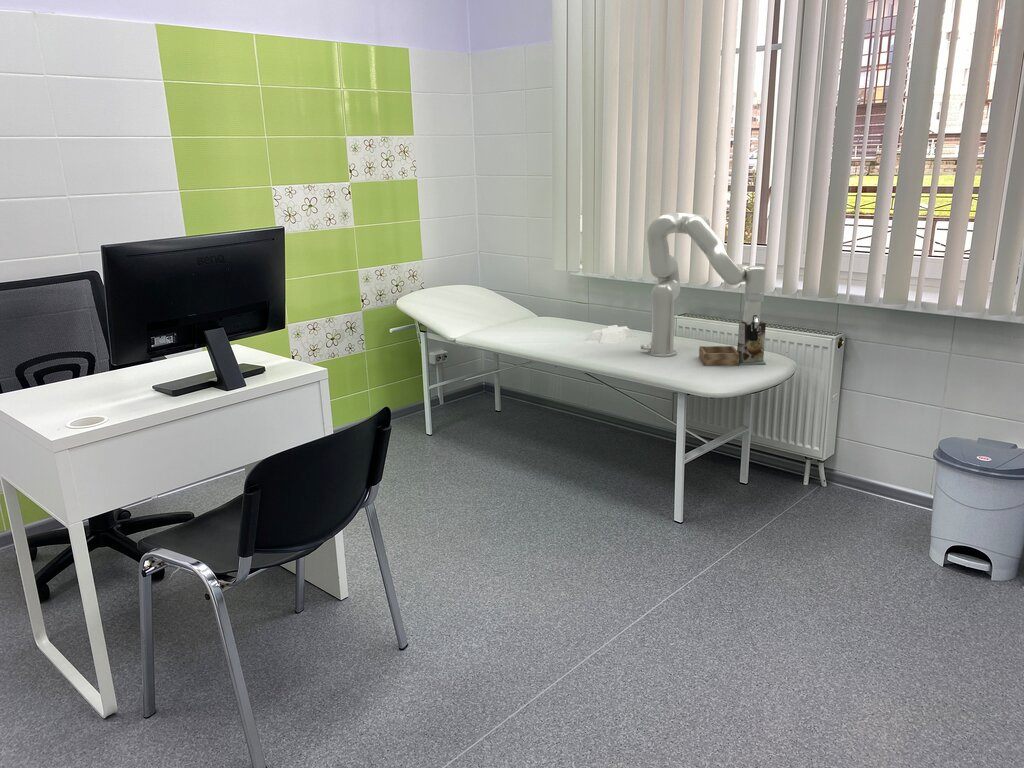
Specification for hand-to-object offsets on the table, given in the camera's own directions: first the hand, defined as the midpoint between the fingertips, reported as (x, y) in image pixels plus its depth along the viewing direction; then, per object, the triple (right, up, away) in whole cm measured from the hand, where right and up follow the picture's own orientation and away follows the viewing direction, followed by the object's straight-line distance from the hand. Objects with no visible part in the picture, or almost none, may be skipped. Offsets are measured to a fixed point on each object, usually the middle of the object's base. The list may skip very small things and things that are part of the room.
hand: (750, 338), depth 311 cm
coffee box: (0, -9, +2) cm, 10 cm away
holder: (-12, -10, +4) cm, 16 cm away
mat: (+1, -10, +3) cm, 10 cm away
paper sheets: (-50, +2, +52) cm, 72 cm away
